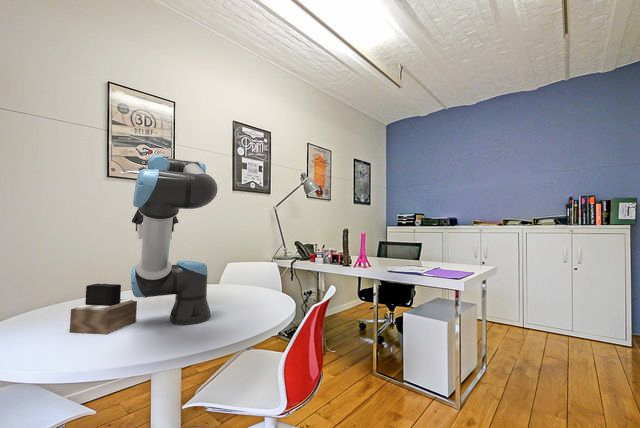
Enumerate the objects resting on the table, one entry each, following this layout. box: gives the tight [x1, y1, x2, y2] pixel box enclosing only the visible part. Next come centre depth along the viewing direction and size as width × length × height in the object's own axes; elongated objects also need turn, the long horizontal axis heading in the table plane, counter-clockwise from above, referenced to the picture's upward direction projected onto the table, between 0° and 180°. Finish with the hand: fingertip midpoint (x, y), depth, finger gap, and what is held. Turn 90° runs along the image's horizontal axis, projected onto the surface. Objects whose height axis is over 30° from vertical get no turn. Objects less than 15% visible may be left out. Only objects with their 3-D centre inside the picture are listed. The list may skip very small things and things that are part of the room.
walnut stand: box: [69, 298, 138, 335], centre depth 109 cm, size 14×14×9 cm
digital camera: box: [84, 283, 122, 306], centre depth 108 cm, size 10×5×7 cm, turn 83°
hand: (154, 239), depth 130 cm, fingers open, 13 cm apart
